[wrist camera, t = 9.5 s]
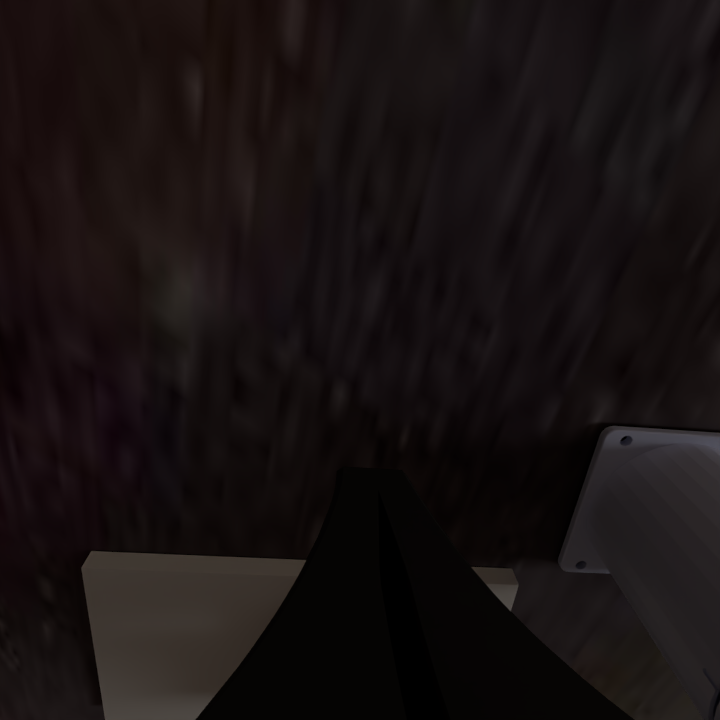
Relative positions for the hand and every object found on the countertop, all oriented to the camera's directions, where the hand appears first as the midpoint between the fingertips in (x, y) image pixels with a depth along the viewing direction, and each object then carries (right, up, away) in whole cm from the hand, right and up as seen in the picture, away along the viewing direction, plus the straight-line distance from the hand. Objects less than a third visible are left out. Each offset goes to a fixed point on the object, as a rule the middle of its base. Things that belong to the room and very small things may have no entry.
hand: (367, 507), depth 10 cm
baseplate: (-3, -12, +16) cm, 20 cm away
